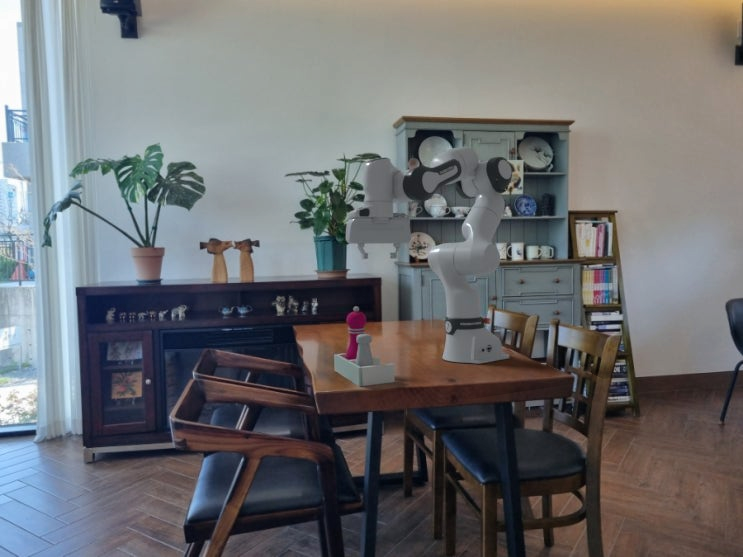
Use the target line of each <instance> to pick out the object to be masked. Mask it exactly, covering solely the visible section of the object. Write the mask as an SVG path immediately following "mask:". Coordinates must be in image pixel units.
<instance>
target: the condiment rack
mask: <svg viewBox="0 0 743 557" xmlns="http://www.w3.org/2000/svg"><path fill="white" fill-rule="evenodd" d="M345 355H346V352H345V353H335V354H333V361H334V363H333V364H334V365H333V366H334V370H333V371H334V372H336V373H337V372H338V373H337V374H339V375H341V376H342V377H344V378H345V379H347V380H348V381H350V382H351V381H352V383H353V384H354V385H356V386H357V387H366V386H373V385H381V384H382V385H383V384H389V383H395V364H394V363H386V364H385V363H384V364H381V362H380V361H381V359H380V358H381V357H380V356H377V357H374V356H373V357H372V359H373V363H374V366H365V367H360V366H358V365H356V359H354V360H347V359H345Z"/></svg>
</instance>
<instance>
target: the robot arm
mask: <svg viewBox="0 0 743 557" xmlns="http://www.w3.org/2000/svg"><path fill="white" fill-rule="evenodd" d="M512 178H513V168H512V165H511V163H510V162H509V161H508V159H507V158H505V157H503V156H496V157H490V159H487V160H485V161H482V162H481V161H479V156H478V154H477V152H476V150H474V149H473V148H472V147H470V146H459V147H454V148H450V149H448V150H445V151H442V152H440V153H438V154H437V155H436V156H434V157H433V158H432V160H431V162H430V166H425V165H420V166H416V167H412V168H410V169H405V170H401V169H399V168H397V167H396V166H395V165H394V164H393V163H392V161H391V159H390V158H389V157H377V158H373V159H370V160H368V161H366V162H365V164H364V168H363V179H362V184H363V187H362V188H363V192H364V198H363V207H358V208H357V209H354V210H351V211H349V212H348V219H349V220H348V221H347V223H346V226H345V241H346V242H347V243H348V244H351V245H352V244H355V245H356V244H357V248H358V251H359V252H360V254H361V257H360V258H361V260H368V259H369V253H368V252H366V251H365V249H364V248H365V244H366V245H367V244H392V245H393V246H392V247H393V250H392V252H389V254H390V260H391V259H394V260H395V259H397V258H398V252H399V250H400V248H401V244H409V243H410V242H411V241H412V234H411V220H410V219H411V218H410V216H409V215H408V214H406V213H405V212H401V213H399V212H394V204H403V203H404V204H405V203H413V202H425V201H428V200H430V199H431V198H432V197H434V195H435V194H436V193H437V191H438V190H439V189H440V188H441V187H443V186H445V185H447V186H448V185H451V184H454V188H455V191H456V194H458V195H459V196H460V197H461V198H463V199H465V200H467V199H468V200H469V199H475V202H474V204H473V205H472V207H471V209H470V210H469V212H468V213H467V216H466V217H465V220H464V221H463V223H462V225H461V234H462V237H463V238H464V239H465V241H461V242H445V243H441V244H438V245H434V246H433V247H431V249H430V250H429V252H428V255H427V256H428V257H427V264H428V265H429V268H430V269H431V271H432V272H434V274H436V276H437V277H438V278H439V280H440V282H441V284H442V286H443V289H444V293H445V294H444V295H445V304H446V316H445V321H444V322H445V324H444V325H445V334H446V335H445V345H444V350H443V353H442V354H443V355H442V359H443V360H445V361H447V362H453V363H462V364H463V363H467V364H469V363H470V364H477V365H478V364H479V365H480V364H485V363H491V362H496V361H502V360H508V359H510V354H509V353H507V352H503V345H502V342H501V341H502V340H500V338H499V337H497V336H496V335H495V334H494V333H493V332H491V331H490V330H489V329H487V328H486V325H490V324H491V321H492V320H491V318H489V317H482V316H481V295H480V293H479V291H478V290H477V288H474V287H473V286H471V285H470V283H469V282H468V280H467V276H484V275H489V274H492V273H495V272H496V271H497V269H498V268H499V266H500V263H501V253H500V251H499V249H498V247H497V246H496V245H495V244H494V243H493V238H494V236H495V233H496V231H497V229H498V227H499V225H500V223H501V220H502V218H503V215H504V210H505V207H506V206H505V204H506V203H505V200H504V198H503V196H502V194H503V193H505V192H507V190H509V185H510V183H511V181H512ZM485 324H486V325H485Z"/></svg>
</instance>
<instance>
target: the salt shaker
mask: <svg viewBox="0 0 743 557" xmlns="http://www.w3.org/2000/svg"><path fill="white" fill-rule="evenodd" d="M372 337H373V336H372V335H371V334H369V333H364V334H360V335H358V336H357V338H356V340H357V343H359V344H358V351H357V358H356V365H358V366H360V367H365V366H374V363H373V359H372V358H373V356H372V351H371V350H372V349H371V345H370V344H371V343H372V342H373V338H372Z"/></svg>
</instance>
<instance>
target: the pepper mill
mask: <svg viewBox="0 0 743 557" xmlns="http://www.w3.org/2000/svg"><path fill="white" fill-rule="evenodd" d="M352 310H353V311H352V312H350V313H348V314H347V317H346V324H347V325H348V329H347V330H348V333H349V336H350V337H349V344H348V347H347V349H346V352H345V353H346V355H345V359H347V360H354V359H356V358H357V351H358V344H359V343H357V340H356V338H357V336H358V335H360V334H365V333H366V331H365V330H366V327H365V325H366V324H367V317H366V314H365V313H364V312H362V311H360V307H359V306H354V307H353V308H352Z"/></svg>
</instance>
